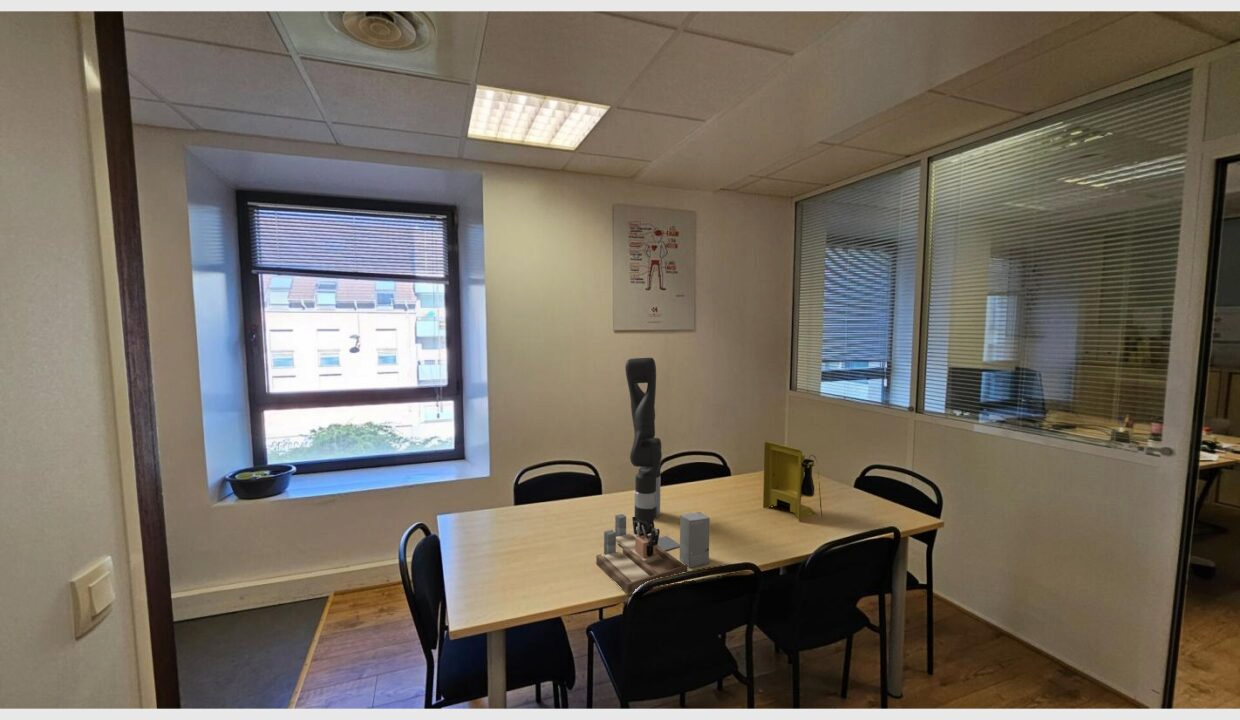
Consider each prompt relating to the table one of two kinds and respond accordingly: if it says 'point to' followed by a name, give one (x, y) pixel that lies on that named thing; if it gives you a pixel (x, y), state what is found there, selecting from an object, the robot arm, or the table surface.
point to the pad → (667, 543)
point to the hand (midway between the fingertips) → (645, 551)
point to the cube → (642, 546)
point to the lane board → (643, 568)
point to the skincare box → (694, 539)
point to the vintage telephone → (787, 478)
